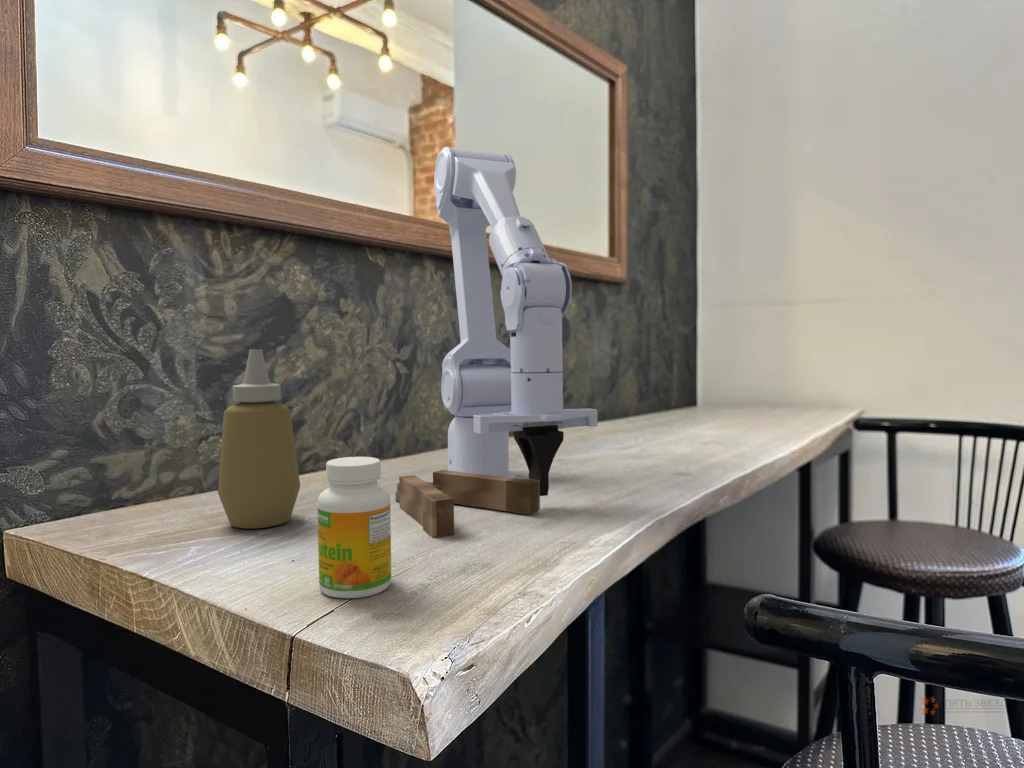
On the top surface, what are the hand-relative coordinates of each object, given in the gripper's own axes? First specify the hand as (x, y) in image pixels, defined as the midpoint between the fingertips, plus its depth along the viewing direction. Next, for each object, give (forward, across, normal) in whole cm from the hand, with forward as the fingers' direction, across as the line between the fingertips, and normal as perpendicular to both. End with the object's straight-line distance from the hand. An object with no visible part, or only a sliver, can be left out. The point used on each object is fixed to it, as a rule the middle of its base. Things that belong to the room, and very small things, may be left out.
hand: (538, 494), depth 75 cm
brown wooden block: (+2, -12, +4) cm, 13 cm away
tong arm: (+1, -7, +5) cm, 9 cm away
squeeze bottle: (+2, -28, +8) cm, 30 cm away
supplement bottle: (+2, -24, -15) cm, 28 cm away
